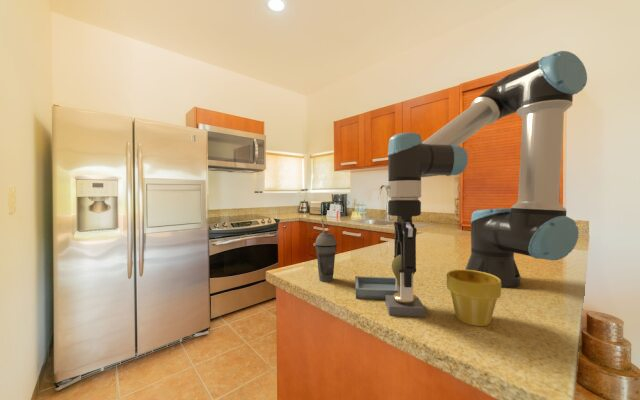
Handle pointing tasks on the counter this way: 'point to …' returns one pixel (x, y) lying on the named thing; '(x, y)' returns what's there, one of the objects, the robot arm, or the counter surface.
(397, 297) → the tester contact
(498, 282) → the plant pot
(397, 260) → the light bulb
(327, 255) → the beverage cup
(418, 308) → the tester
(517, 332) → the counter surface
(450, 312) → the counter surface
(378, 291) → the tray
